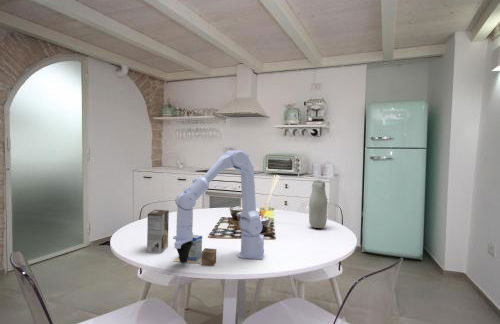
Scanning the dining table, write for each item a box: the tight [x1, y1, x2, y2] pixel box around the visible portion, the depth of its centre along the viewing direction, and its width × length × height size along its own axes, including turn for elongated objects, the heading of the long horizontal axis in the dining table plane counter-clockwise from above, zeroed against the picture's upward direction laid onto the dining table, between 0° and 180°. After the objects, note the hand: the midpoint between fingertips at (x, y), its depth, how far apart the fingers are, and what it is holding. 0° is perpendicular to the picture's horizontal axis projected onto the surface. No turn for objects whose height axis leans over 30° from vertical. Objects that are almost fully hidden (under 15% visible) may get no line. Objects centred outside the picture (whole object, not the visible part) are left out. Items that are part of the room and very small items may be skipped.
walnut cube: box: [200, 248, 217, 267], centre depth 114 cm, size 4×4×5 cm
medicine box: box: [188, 234, 203, 260], centre depth 119 cm, size 8×4×9 cm, turn 70°
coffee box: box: [146, 209, 170, 254], centre depth 128 cm, size 9×6×16 cm
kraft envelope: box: [172, 255, 202, 264], centre depth 119 cm, size 10×10×1 cm
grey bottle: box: [308, 179, 328, 229], centre depth 175 cm, size 10×10×28 cm
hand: (183, 262), depth 111 cm, fingers closed
